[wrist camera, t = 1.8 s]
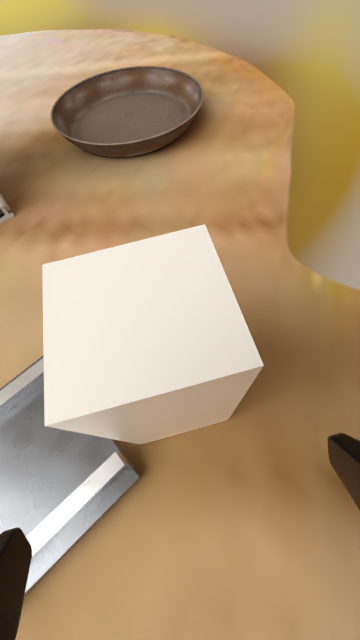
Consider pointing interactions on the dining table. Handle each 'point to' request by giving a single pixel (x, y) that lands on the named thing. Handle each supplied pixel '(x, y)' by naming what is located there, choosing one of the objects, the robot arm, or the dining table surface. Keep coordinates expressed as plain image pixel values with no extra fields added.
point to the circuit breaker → (4, 210)
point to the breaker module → (144, 340)
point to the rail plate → (53, 475)
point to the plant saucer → (128, 110)
